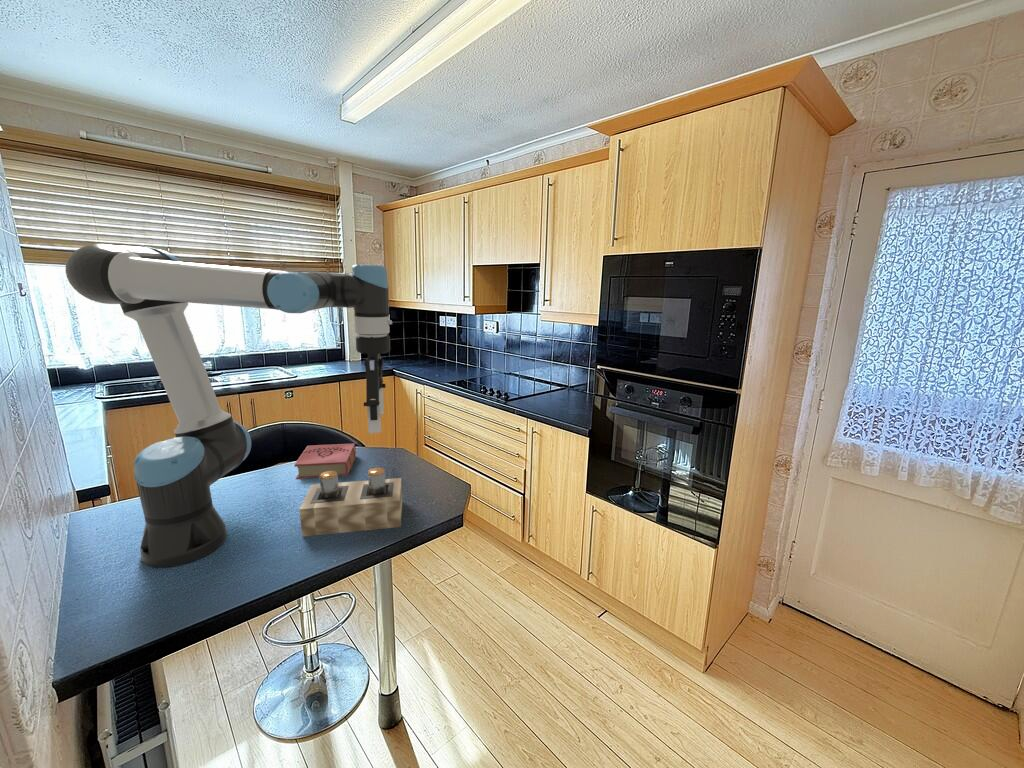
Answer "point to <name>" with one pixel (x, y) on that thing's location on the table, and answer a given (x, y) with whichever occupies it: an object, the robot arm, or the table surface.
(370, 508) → the block
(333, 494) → the peg left
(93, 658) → the table surface
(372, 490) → the peg right
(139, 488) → the robot arm
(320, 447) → the book
